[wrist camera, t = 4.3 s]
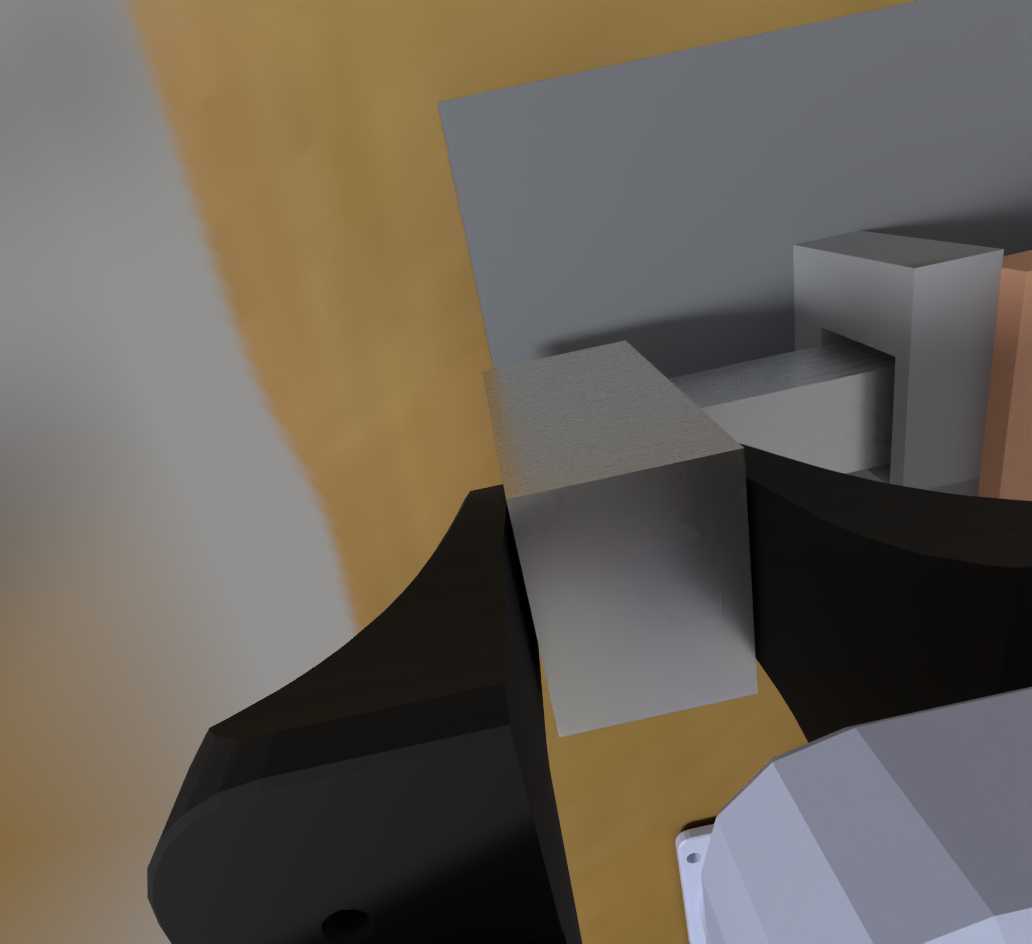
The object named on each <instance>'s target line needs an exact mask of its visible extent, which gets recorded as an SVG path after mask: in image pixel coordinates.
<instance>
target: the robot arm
mask: <svg viewBox="0 0 1032 944" xmlns="http://www.w3.org/2000/svg"><path fill="white" fill-rule="evenodd" d="M739 444H740V443H739ZM740 445H741V446H742V447H744V455H745V473H746V491H747V509H748V528H749V546H750V564H751V582H752V600H753V618H754V636H755V655H756V659H757V660H758V662H759V663H760V665H761V666H762V667H763V669H764V670H765V672H766V673H767V675H768V676H769V678H770V679H771V681H772V682H773V683H774V685H775V686H776V688H777V689H778V691H779V692H780V694H781V695H782V697H783V699H784V700H785V702H786V703H787V705H788V707H789V708H790V710H791V712H792V713H793V715H794V716H795V718H796V720H797V722H798V724H799V726H800V728H801V729H802V731H803V733H804V735H805V737H806V739H807V741H808V742H809V743H807V744H805V745H802V746H800V747H798V748H795V749H793V750H791V751H788V752H786V753H783V754H781V755H779V756H776V757H774V758H773V759H772V760H771V761H770V762H769V763H768V764H767V765H765V766H764V767H763V768H762V769H761V770H760V771H759V772H758V773H757V774H756V775H755V776H754V777H753V778H752V779H751V780H750V781H749V782H748V783H747V784H746V785H745V786H744V787H743V788H742V789H741V790H740V791H739V792H738V793H737V794H736V795H735V796H734V797H733V798H732V799H731V800H730V801H729V802H728V803H727V804H726V805H725V806H724V807H723V809H722V810H721V811H720V813H719V814H718V816H717V817H716V820H715V823H714V824H710V825H706V826H701V827H697V828H692V829H688V830H685V831H683V832H681V833H680V834H679V835H678V836H677V838H676V842H675V843H676V851H677V858H678V865H679V872H680V880H681V887H682V894H683V901H684V908H685V916H686V923H687V930H688V937H689V944H1032V501H1024V500H1012V499H1001V498H989V497H978V496H967V495H959V494H951V493H943V492H936V491H930V490H924V489H918V488H912V487H906V486H900V485H894V484H889V483H884V482H879V481H874V480H869V479H865V478H861V477H857V476H853V475H849V474H844V473H840V472H836V471H832V470H829V469H825V468H821V467H818V466H814V465H810V464H807V463H803V462H800V461H797V460H793V459H790V458H787V457H783V456H780V455H777V454H774V453H770V452H767V451H764V450H761V449H757V448H754V447H751V446H747V445H744V444H740ZM147 869H148V871H147V874H148V876H147V878H148V900H149V902H150V904H151V907H152V909H153V911H154V914H155V916H156V918H157V921H158V923H159V925H160V927H161V928H162V930H163V931H164V933H165V934H166V936H167V937H168V939H169V940H170V942H171V943H172V944H582V940H581V934H580V929H579V924H578V918H577V913H576V908H575V903H574V897H573V892H572V887H571V881H570V876H569V871H568V865H567V860H566V854H565V849H564V844H563V838H562V833H561V828H560V822H559V817H558V811H557V806H556V801H555V795H554V790H553V784H552V779H551V773H550V768H549V760H548V752H547V744H546V733H545V721H544V709H543V696H542V684H541V672H540V660H539V648H538V640H537V636H536V631H535V627H534V622H533V618H532V613H531V609H530V604H529V600H528V595H527V591H526V586H525V582H524V577H523V573H522V568H521V564H520V559H519V555H518V551H517V546H516V542H515V537H514V533H513V528H512V524H511V519H510V515H509V510H508V506H507V501H506V496H505V491H504V486H503V484H502V485H497V486H492V487H488V488H483V489H478V490H474V491H470V492H469V494H468V495H467V497H466V498H465V500H464V502H463V504H462V506H461V508H460V510H459V512H458V513H457V515H456V517H455V519H454V521H453V522H452V524H451V526H450V528H449V529H448V531H447V533H446V534H445V536H444V538H443V539H442V541H441V542H440V544H439V546H438V547H437V549H436V550H435V552H434V553H433V555H432V556H431V558H430V559H429V560H428V562H427V563H426V564H425V566H424V567H423V568H422V570H421V571H420V573H419V574H418V575H417V576H416V578H415V579H414V580H413V581H412V582H411V583H410V585H409V586H408V587H407V588H406V589H405V590H404V591H403V592H402V593H401V594H400V595H399V597H398V598H397V599H396V600H395V601H394V602H393V603H392V604H391V605H390V606H389V607H388V608H387V609H386V610H385V611H384V612H383V613H382V614H381V615H379V616H378V617H377V618H376V619H375V620H374V621H372V622H371V623H370V624H369V625H368V626H366V627H365V628H364V629H363V630H362V631H361V632H359V633H358V634H357V635H356V636H355V637H354V638H353V639H351V640H350V641H349V642H348V643H347V644H346V645H344V646H343V647H341V648H340V649H339V650H338V651H336V652H335V653H333V654H332V655H331V656H329V657H328V658H327V659H325V660H324V661H322V662H321V663H320V664H318V665H317V666H316V667H314V668H312V669H311V670H309V671H308V672H306V673H305V674H303V675H302V676H300V677H299V678H297V679H296V680H294V681H293V682H291V683H289V684H288V685H286V686H284V687H283V688H281V689H280V690H278V691H276V692H274V693H273V694H271V695H269V696H267V697H265V698H264V699H262V700H260V701H258V702H256V703H255V704H253V705H251V706H249V707H248V708H246V709H244V710H242V711H241V712H238V713H237V714H235V715H233V716H231V717H230V718H228V719H226V720H224V721H222V722H220V723H218V724H216V725H214V726H212V727H210V728H209V730H208V732H207V734H206V735H205V738H204V739H203V742H202V744H201V746H200V747H199V749H198V751H197V753H196V755H195V758H194V760H193V762H192V764H191V766H190V768H189V770H188V773H187V775H186V777H185V780H184V782H183V785H182V787H181V789H180V792H179V794H178V796H177V799H176V801H175V804H174V806H173V809H172V811H171V813H170V816H169V818H168V821H167V823H166V825H165V828H164V830H163V833H162V835H161V838H160V840H159V842H158V845H157V847H156V850H155V852H154V854H153V856H152V859H151V861H150V864H149V866H148V868H147Z"/></svg>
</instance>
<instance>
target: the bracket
mask: <svg viewBox="0 0 1032 944" xmlns="http://www.w3.org/2000/svg"><path fill="white" fill-rule="evenodd" d="M438 108H439V112H440V117H441V122H442V127H443V131H444V136H445V141H446V145H447V150H448V155H449V160H450V164H451V169H452V174H453V178H454V183H455V188H456V192H457V197H458V202H459V207H460V211H461V216H462V221H463V225H464V230H465V235H466V240H467V244H468V249H469V254H470V258H471V263H472V268H473V273H474V277H475V282H476V287H477V291H478V296H479V301H480V305H481V310H482V315H483V320H484V324H485V329H486V334H487V338H488V343H489V348H490V353H491V357H492V362H493V367H494V369H495V368H499V367H504V366H509V365H513V364H518V363H523V362H527V361H532V360H537V359H541V358H546V357H551V356H555V355H560V354H564V353H569V352H574V351H578V350H583V349H588V348H592V347H597V346H602V345H606V344H611V343H616V342H620V341H625V340H626V341H627V342H628V343H629V344H630V345H631V346H632V347H633V348H634V349H636V350H637V351H638V352H639V353H640V354H641V355H642V356H643V357H644V358H645V359H647V360H648V361H649V362H650V363H651V364H652V365H653V366H654V367H655V368H656V369H658V370H659V371H660V372H661V373H662V374H663V375H664V376H665V377H666V378H667V379H668V378H673V377H678V376H682V375H687V374H692V373H696V372H701V371H706V370H710V369H715V368H719V367H724V366H729V365H733V364H738V363H743V362H747V361H752V360H757V359H761V358H766V357H770V356H775V355H780V354H784V353H789V352H794V351H798V350H803V349H807V348H812V347H817V346H821V345H826V344H831V343H835V342H840V341H845V340H849V339H852V340H855V341H857V342H860V343H862V344H865V345H867V346H870V347H872V348H875V349H877V350H880V351H882V352H885V353H887V354H890V355H892V356H895V379H894V402H893V425H892V447H891V464H887V465H882V466H878V467H873V468H869V469H864V470H859V471H855V472H850V473H846V474H849V475H853V476H857V477H861V478H865V479H869V480H874V481H879V482H884V483H889V484H894V485H900V486H906V487H912V488H918V489H924V490H930V491H936V492H943V493H951V494H959V495H967V496H978V489H979V479H980V470H981V460H982V451H983V442H984V432H985V423H986V413H987V404H988V394H989V385H990V375H991V366H992V356H993V347H994V338H995V328H996V319H997V309H998V300H999V290H1000V281H1001V271H1002V262H1003V256H1007V255H1011V254H1016V253H1021V252H1025V251H1030V250H1032V0H920V1H915V2H910V3H906V4H901V5H896V6H891V7H887V8H882V9H877V10H872V11H868V12H863V13H858V14H853V15H849V16H844V17H839V18H834V19H830V20H825V21H820V22H816V23H811V24H806V25H801V26H797V27H792V28H787V29H782V30H778V31H773V32H768V33H763V34H759V35H754V36H749V37H745V38H740V39H735V40H730V41H726V42H721V43H716V44H711V45H707V46H702V47H697V48H692V49H688V50H683V51H678V52H674V53H669V54H664V55H659V56H655V57H650V58H645V59H640V60H636V61H631V62H626V63H621V64H617V65H612V66H607V67H603V68H598V69H593V70H588V71H584V72H579V73H574V74H569V75H565V76H560V77H555V78H550V79H546V80H541V81H536V82H532V83H527V84H522V85H517V86H513V87H508V88H503V89H498V90H494V91H489V92H484V93H479V94H475V95H470V96H465V97H461V98H456V99H451V100H446V101H442V102H438Z"/></svg>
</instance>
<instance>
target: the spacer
mask: <svg viewBox="0 0 1032 944" xmlns="http://www.w3.org/2000/svg"><path fill="white" fill-rule="evenodd" d="M978 497H989V498H1001V499H1012V500H1024V501H1032V250H1030V251H1025V252H1021V253H1016V254H1011V255H1007V256H1003V262H1002V271H1001V281H1000V290H999V300H998V309H997V319H996V328H995V338H994V347H993V356H992V366H991V375H990V385H989V394H988V404H987V413H986V423H985V432H984V442H983V451H982V460H981V470H980V479H979V489H978Z"/></svg>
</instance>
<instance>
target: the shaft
mask: <svg viewBox="0 0 1032 944" xmlns="http://www.w3.org/2000/svg"><path fill="white" fill-rule="evenodd" d="M482 373H483V379H484V384H485V389H486V395H487V400H488V405H489V411H490V416H491V421H492V427H493V432H494V437H495V443H496V448H497V453H498V459H499V464H500V470H501V475H502V480H503V486H504V491H505V496H506V501H507V506H508V510H509V515H510V519H511V524H512V528H513V533H514V537H515V542H516V546H517V551H518V555H519V559H520V564H521V568H522V573H523V577H524V582H525V586H526V591H527V595H528V600H529V604H530V609H531V613H532V618H533V622H534V627H535V631H536V636H537V640H538V645H539V649H540V654H541V658H542V662H543V667H544V671H545V676H546V680H547V685H548V689H549V694H550V698H551V703H552V707H553V712H554V716H555V721H556V725H557V730H558V734H559V737H563V736H567V735H572V734H577V733H581V732H586V731H590V730H595V729H599V728H604V727H608V726H613V725H617V724H622V723H626V722H631V721H636V720H640V719H645V718H649V717H654V716H658V715H663V714H667V713H672V712H676V711H681V710H685V709H690V708H694V707H699V706H704V705H708V704H713V703H717V702H722V701H726V700H731V699H735V698H740V697H744V696H749V695H753V694H758V691H757V673H756V655H755V636H754V618H753V600H752V582H751V564H750V546H749V528H748V509H747V491H746V473H745V455H744V447H742V446H741V445H740V444H744V445H747V446H751V447H754V448H757V449H761V450H764V451H767V452H770V453H774V454H777V455H780V456H783V457H787V458H790V459H793V460H797V461H800V462H803V463H807V464H810V465H814V466H818V467H821V468H825V469H829V470H832V471H836V472H840V473H844V474H846V473H850V472H855V471H859V470H864V469H869V468H873V467H878V466H882V465H887V464H891V447H892V425H893V402H894V379H895V356H892V355H890V354H887V353H885V352H882V351H880V350H877V349H875V348H872V347H870V346H867V345H865V344H862V343H860V342H857V341H855V340H852V339H849V340H845V341H840V342H835V343H831V344H826V345H821V346H817V347H812V348H807V349H803V350H798V351H794V352H789V353H784V354H780V355H775V356H770V357H766V358H761V359H757V360H752V361H747V362H743V363H738V364H733V365H729V366H724V367H719V368H715V369H710V370H706V371H701V372H696V373H692V374H687V375H682V376H678V377H673V378H668V379H667V378H666V377H665V376H664V375H663V374H662V373H661V372H660V371H659V370H658V369H656V368H655V367H654V366H653V365H652V364H651V363H650V362H649V361H648V360H647V359H645V358H644V357H643V356H642V355H641V354H640V353H639V352H638V351H637V350H636V349H634V348H633V347H632V346H631V345H630V344H629V343H628V342H627V341H626V340H625V341H620V342H616V343H611V344H606V345H602V346H597V347H592V348H588V349H583V350H578V351H574V352H569V353H564V354H560V355H555V356H551V357H546V358H541V359H537V360H532V361H527V362H523V363H518V364H513V365H509V366H504V367H499V368H495V369H490V370H485V371H482ZM739 443H740V444H739Z"/></svg>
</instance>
